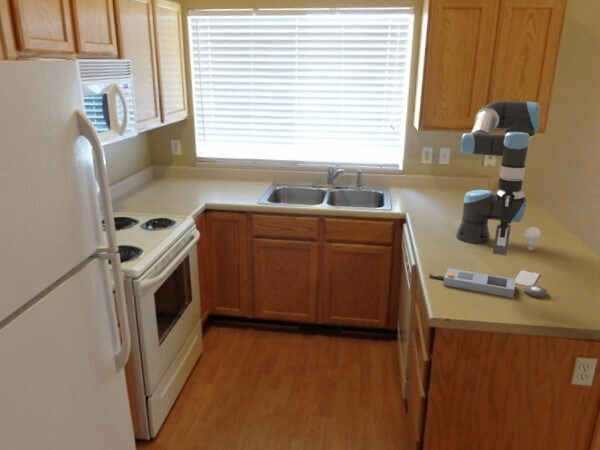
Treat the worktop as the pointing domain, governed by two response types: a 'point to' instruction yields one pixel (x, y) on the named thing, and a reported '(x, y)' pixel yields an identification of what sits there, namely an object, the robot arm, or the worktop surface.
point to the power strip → (478, 282)
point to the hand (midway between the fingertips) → (501, 242)
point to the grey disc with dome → (535, 291)
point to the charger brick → (497, 248)
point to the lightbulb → (532, 237)
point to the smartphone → (526, 278)
